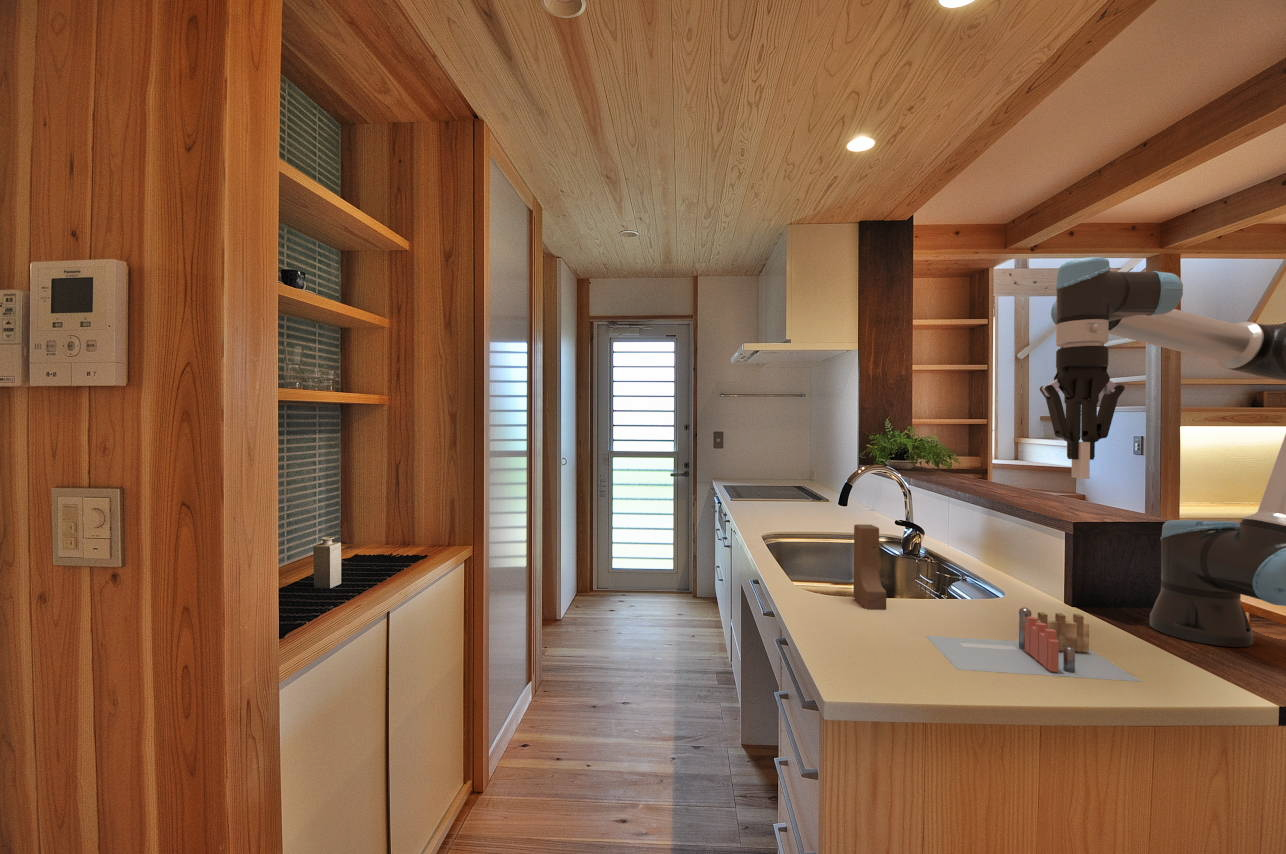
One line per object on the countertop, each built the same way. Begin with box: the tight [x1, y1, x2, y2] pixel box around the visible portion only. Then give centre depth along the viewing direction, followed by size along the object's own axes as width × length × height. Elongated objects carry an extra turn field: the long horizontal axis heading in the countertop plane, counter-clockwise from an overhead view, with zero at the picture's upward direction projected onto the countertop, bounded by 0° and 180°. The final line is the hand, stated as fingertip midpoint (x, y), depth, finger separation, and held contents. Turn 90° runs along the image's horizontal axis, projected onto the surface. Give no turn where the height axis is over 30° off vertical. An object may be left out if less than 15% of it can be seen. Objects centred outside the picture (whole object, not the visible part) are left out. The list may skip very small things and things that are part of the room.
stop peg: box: [1063, 645, 1075, 673], centre depth 98 cm, size 2×2×4 cm
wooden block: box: [852, 523, 887, 611], centre depth 135 cm, size 9×4×18 cm, turn 179°
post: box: [1018, 606, 1032, 650], centre depth 108 cm, size 2×2×8 cm
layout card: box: [925, 635, 1143, 683], centre depth 104 cm, size 28×16×1 cm, turn 82°
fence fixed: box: [1037, 611, 1090, 652], centre depth 107 cm, size 9×1×6 cm, turn 82°
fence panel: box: [1025, 616, 1059, 672], centre depth 102 cm, size 10×1×6 cm, turn 169°
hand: (1080, 477), depth 104 cm, fingers closed
